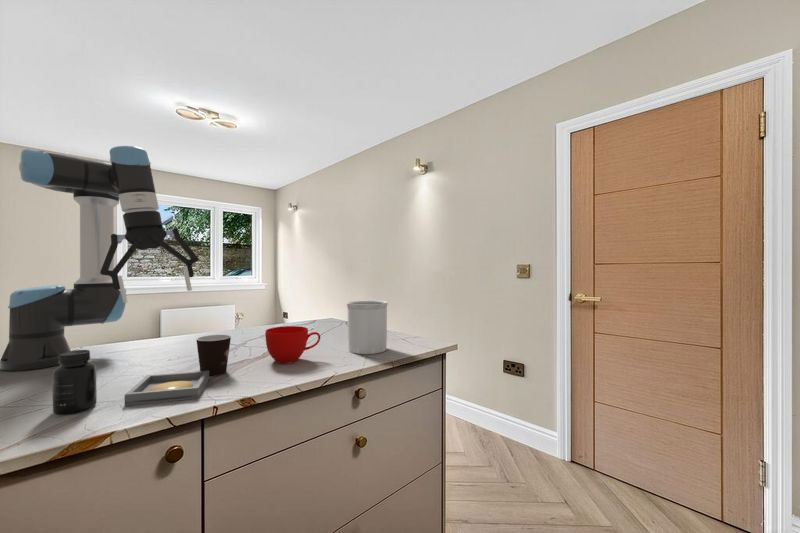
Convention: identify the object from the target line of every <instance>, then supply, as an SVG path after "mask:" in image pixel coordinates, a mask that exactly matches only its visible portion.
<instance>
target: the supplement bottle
mask: <svg viewBox="0 0 800 533" xmlns="http://www.w3.org/2000/svg"><path fill="white" fill-rule="evenodd" d="M90 351H91V350H89V349H76V350H71V351H69V352H64V353H61V354H59V365H58V367H56V368H55V369H54V370H53V371H52V373H51V374H52V376H51V377H52V378H51V380H52V381H51V382H52V384H51V385H52V412H53V414H54V415H56V416H68V415H70V414H71V415H76V414H78V413H79V414H81V413H83V412H86V411H89V410H90V409H93V408H94V407H95V406H96V404H97V398H98V396H97V394H98V393H97V391H98V390H97V389H98V388H97V387H98V386H97V366H96V364H95V363H94V362H92V361H90V360H91V352H90Z"/></svg>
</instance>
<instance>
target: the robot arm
mask: <svg viewBox="0 0 800 533" xmlns="http://www.w3.org/2000/svg"><path fill="white" fill-rule="evenodd" d="M109 158H110V159H109V161H110V162H111V163H109V162H105V161H103V160H101V161H100V160H94V159H93V160H92V159H87V158H81V157H78V156H77V157H76V156H71V155H70V156H69V155H65V154H59V153H55V152H54V153H53V152H47V151H44V150H34V149H23V150H22V151H21V153H20V162H19V166H18V167H19V168H18V169H19V172H20V178H21V180H22V181H23V182H25V183H30V184H32V185H34V186H37V187H40V188H44V189H46V190H51V191H55V192H61V193H66V194H67V193H68V194H73V196H72V197H73V201H75V202H76V203H77V204H79V279H77V280H76V281H75V282H74V283H73V288H72V289H71V288H70V289H67V288H66V287H65V285H63V284H57V285H56V284H55V285H44V286H37V287H36V286H35V287H29V288H27V287H26V288H22V289H18V290H14V291H12V293H11V294H10V296H9V304H8V306H7V308H8V309H9V320H8V321H9V322H8V325H9V326H8V342H7V345H6V346H5V349H4V351H3V354H2V356H1V357H0V370H1V371H7V372H9V371H10V372H17V371H29V370H37V369H43V368H44V369H45V368H49V367H54V366H57V365H58V366H60V364H59V354H61V353H64V352H69V351H72V350H71V347H70V345H69V343H68V341H67V339H66V337H65V328H66V327H75V326H85V325H86V326H87V325H98V324H101V325H103V324H107V323H113V322H118V321H119V320H120V319H121V318H122V316H123V314H124V312H125V309H126V303H128V298H127V290H126V288H125V284H124V280H123V275H118V274H120V272H121V270H122V269H123V267H124V266H125V265H126V264H127V262H128V261H129V260H130V258H131V257H132V255H133V254H134V253H135V251H136V250H140V251H146V250H149V249H150V250H151V249H152V250H154V249H158V248H159V247H160V248H162V249H163V250H165V251H166V252H167V253H169V254H171V255H172V256H173V257H175V259H177V260H179V261H180V262H182V263H183V264H184V265H182V272H183V275H184V281H185V286H186V290H187V291H188V292H190V291H193V287H192V283H191V278H194V276H195V275H194V269H193V264H194V263H197V262H199V257H198V256H197V255H196V253H195V252H194V251H193V250H192V249H191V247H190V246H189V245H188V244H187V243H186V241H185V240H184V239H183V238H182V236H181V234H180V232H179V229H178V228H176V227H175V228H173V229H170V230H169V229H167V230H165V229H164V226H163V222H162V215H161V212H160V211H158V210H159V209H160V207H159V202H158V197H157V193H156V188H155V182H154V178H153V172H152V168H151V167H152V166H151V163H152V162H150V158H149V154H148V152H147V150H145V149H144V148H142V147H138V146H133V145H119V146H114V147H112V148H110V149H109ZM117 205H120V208H121V212H123V215H122V219H123V223H124V226H125V234H116V233H114V232H115V230H114V219H115V218H114V217H115V216H114V213H115V212H114V208H115V207H116V206H117ZM167 236H169V237H170V238H172V239H174V241H175V242H176V243H177V244H178V246H180V248H181V249H182V250H183V251H184V252H185V254H186V255H187V256H188V257H189V258H190V259H189V258H187V257H186V256H185V255H183V254H182V253H180V252H179V251H177V250H176V249H175V248H173V247H172V246H171V245H170V244H168V243H167V242H166V241H165V239H166V237H167ZM123 240H126V241H127V242H128V243H130V244H131V246H130V247H129V248H128V250H127V251H126V252H125V253H124V255H123V256H122V258H120V260H119V261H118V263H117V264H116V265H115V263H114V262H115V254H116V252H117V249H118V245H120V244H122V242H123Z"/></svg>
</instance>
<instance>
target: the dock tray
mask: <svg viewBox="0 0 800 533" xmlns="http://www.w3.org/2000/svg"><path fill="white" fill-rule="evenodd" d="M209 381H210V377H209V371H200V370H199V371H198V370H197V371H186V372H185V371H183V372H173V373H161V374H158V373H157V374H147V375H146V376H144V377H143V378H142V379H141V380H140V381H139V382H138V383H137V384H135V385H134V386H132V388H131V389H130V390H128V391H127V392H126V393H125V394H124V406H125V407H126V406H135V405H144V404H146V405H147V404H156V403H165V402H167V403H168V402H175V401H185V400H194V399H195V400H197V399H199V398H200V396H201V395H202V392H203V390H204V389H205V387H206V385H207V384H208V382H209Z"/></svg>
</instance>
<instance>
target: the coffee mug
mask: <svg viewBox="0 0 800 533" xmlns="http://www.w3.org/2000/svg"><path fill="white" fill-rule="evenodd" d="M231 338H232V336H231V335H230V334H229V335H228V334H212V335H211V334H209V335H203V336H199V337H197V338H196V346H197V354H198V364H199V371H209V378H210V377H211V378H212V377H218V376H221V375H224V374H226V373H227V370H228V369H227V368H228V362H229V361H228V360H229V354H230V346H231Z"/></svg>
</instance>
